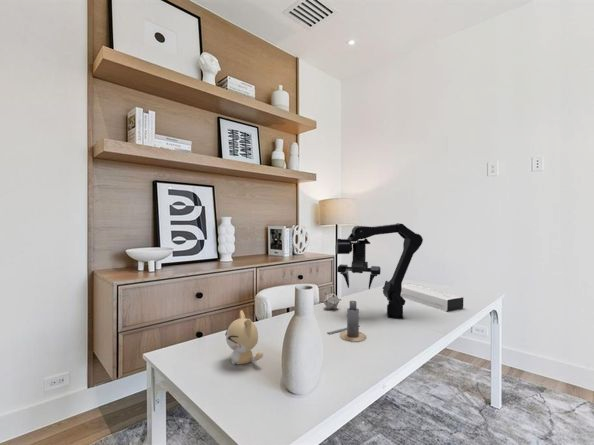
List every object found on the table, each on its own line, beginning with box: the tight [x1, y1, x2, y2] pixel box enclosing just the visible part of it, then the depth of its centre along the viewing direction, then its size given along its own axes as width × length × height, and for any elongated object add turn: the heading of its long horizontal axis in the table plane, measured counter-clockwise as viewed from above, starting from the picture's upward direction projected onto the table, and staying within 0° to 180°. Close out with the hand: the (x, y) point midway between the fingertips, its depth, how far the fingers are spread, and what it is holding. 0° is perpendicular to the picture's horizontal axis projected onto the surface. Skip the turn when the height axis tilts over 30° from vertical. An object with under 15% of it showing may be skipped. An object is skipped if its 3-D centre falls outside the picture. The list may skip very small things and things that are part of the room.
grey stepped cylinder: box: [346, 300, 360, 338], centre depth 120 cm, size 4×4×13 cm
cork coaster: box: [339, 330, 367, 343], centre depth 121 cm, size 10×10×1 cm
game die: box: [321, 291, 342, 311], centre depth 155 cm, size 9×8×10 cm
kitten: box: [225, 309, 264, 366], centre depth 100 cm, size 15×10×15 cm
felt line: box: [327, 325, 361, 336], centre depth 127 cm, size 16×2×1 cm, turn 123°
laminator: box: [400, 283, 464, 313], centre depth 168 cm, size 34×12×6 cm, turn 26°
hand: (358, 288), depth 143 cm, fingers open, 9 cm apart
